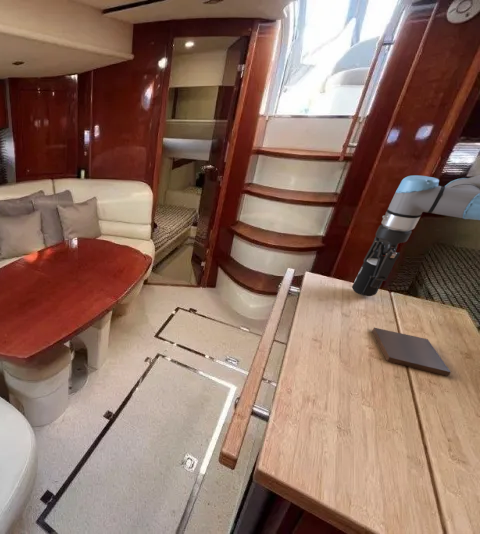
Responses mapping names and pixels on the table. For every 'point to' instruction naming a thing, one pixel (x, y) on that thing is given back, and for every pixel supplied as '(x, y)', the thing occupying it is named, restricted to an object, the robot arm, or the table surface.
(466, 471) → the table surface
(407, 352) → the walnut board
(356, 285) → the beverage can
